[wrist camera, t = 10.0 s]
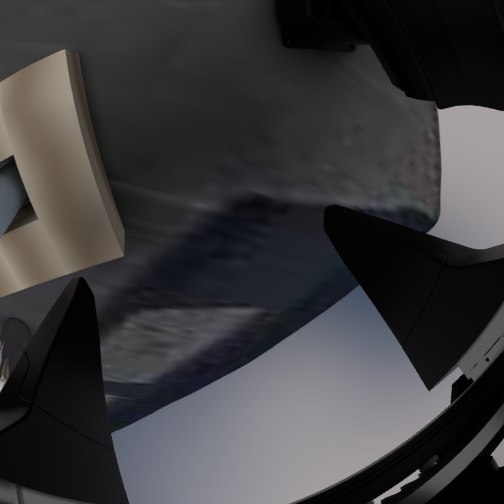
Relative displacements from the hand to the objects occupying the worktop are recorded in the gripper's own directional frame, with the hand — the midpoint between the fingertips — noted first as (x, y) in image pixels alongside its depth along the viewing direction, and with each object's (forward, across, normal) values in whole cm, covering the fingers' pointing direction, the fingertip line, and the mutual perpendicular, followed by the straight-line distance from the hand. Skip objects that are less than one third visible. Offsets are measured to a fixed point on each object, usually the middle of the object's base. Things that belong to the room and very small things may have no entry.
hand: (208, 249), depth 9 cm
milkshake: (+12, +22, +12) cm, 28 cm away
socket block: (+12, +12, -2) cm, 17 cm away
